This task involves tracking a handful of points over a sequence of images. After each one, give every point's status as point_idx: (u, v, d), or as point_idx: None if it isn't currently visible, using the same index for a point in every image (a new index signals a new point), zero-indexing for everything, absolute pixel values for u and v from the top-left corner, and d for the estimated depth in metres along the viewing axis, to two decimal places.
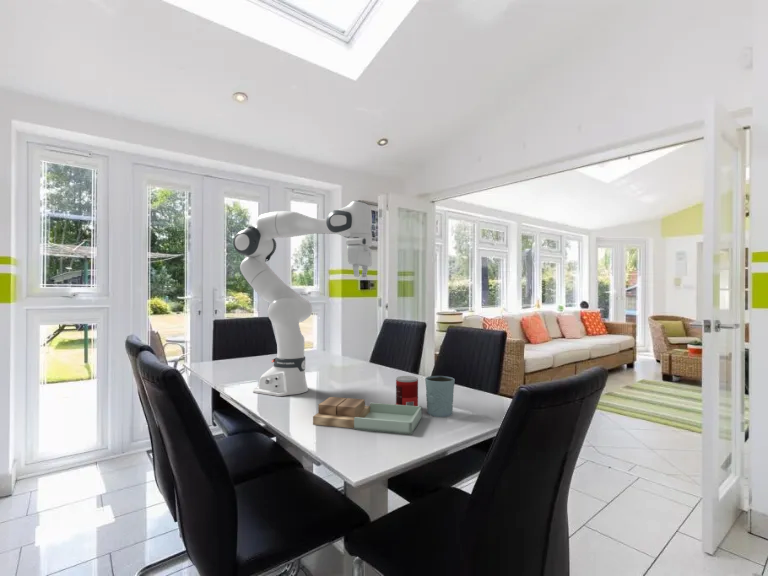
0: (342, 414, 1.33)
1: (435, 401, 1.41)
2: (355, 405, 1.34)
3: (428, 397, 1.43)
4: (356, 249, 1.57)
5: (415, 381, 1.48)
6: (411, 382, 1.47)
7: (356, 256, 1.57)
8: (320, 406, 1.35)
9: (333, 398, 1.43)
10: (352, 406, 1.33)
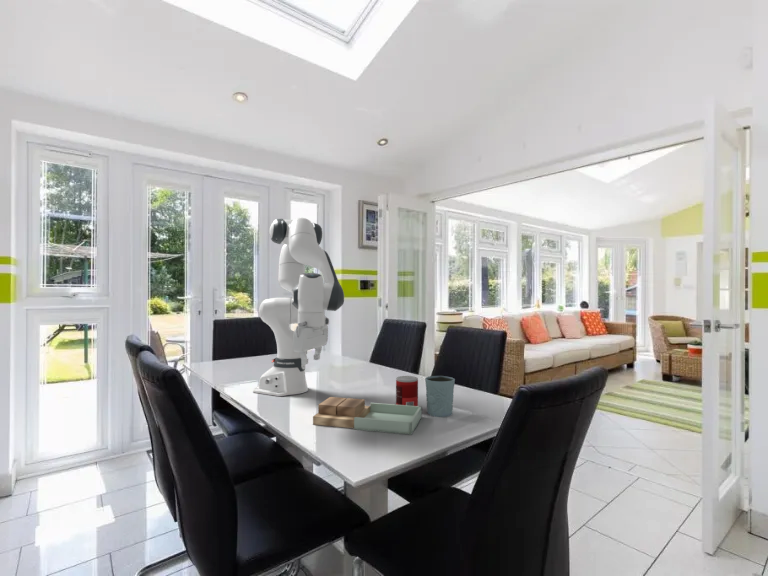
0: (342, 414, 1.33)
1: (435, 401, 1.41)
2: (355, 405, 1.34)
3: (428, 397, 1.43)
4: None
5: (415, 381, 1.48)
6: (411, 382, 1.47)
7: None
8: (320, 406, 1.35)
9: (333, 398, 1.43)
10: (352, 406, 1.33)
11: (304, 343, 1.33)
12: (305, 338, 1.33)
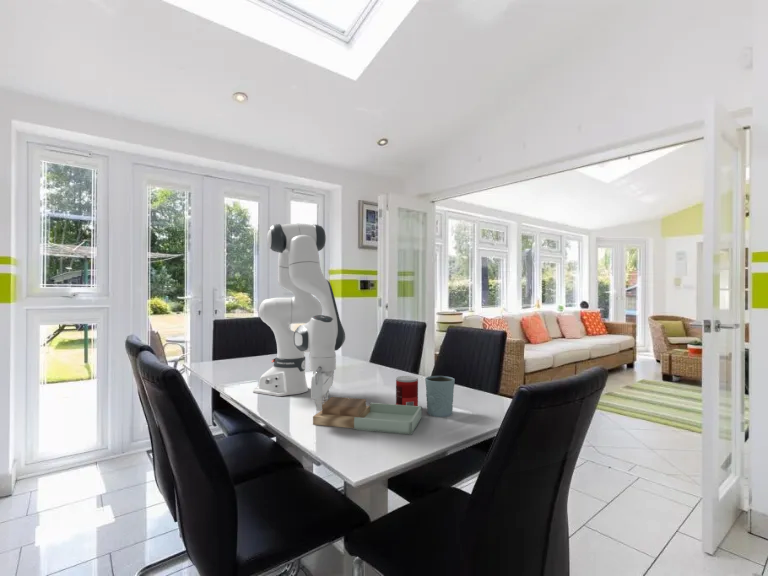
0: (345, 414, 1.33)
1: (435, 401, 1.41)
2: (357, 405, 1.35)
3: (428, 397, 1.43)
4: None
5: (415, 381, 1.48)
6: (411, 382, 1.47)
7: None
8: (324, 406, 1.35)
9: (335, 398, 1.43)
10: (354, 406, 1.34)
11: (322, 389, 1.32)
12: (323, 384, 1.32)
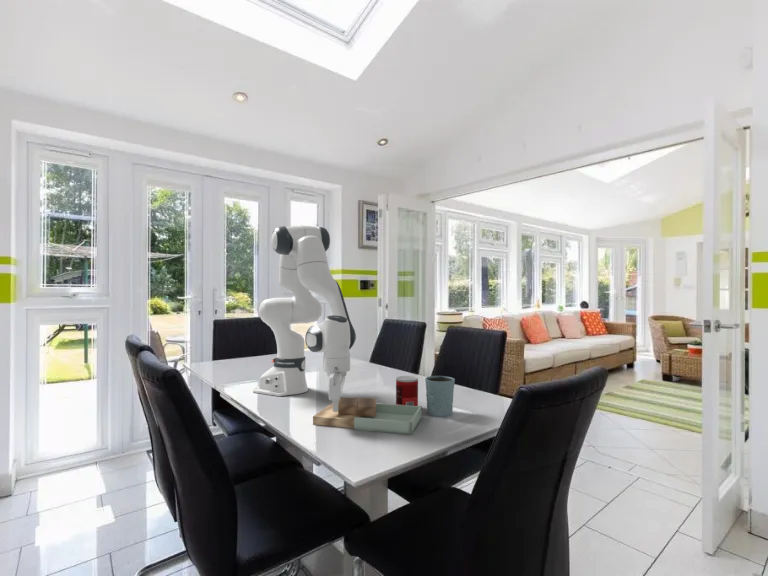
0: (362, 414, 1.33)
1: (435, 401, 1.41)
2: (374, 405, 1.36)
3: (428, 397, 1.43)
4: None
5: (415, 381, 1.48)
6: (411, 382, 1.47)
7: None
8: (340, 407, 1.34)
9: (345, 398, 1.42)
10: (372, 406, 1.34)
11: (340, 390, 1.30)
12: (340, 385, 1.31)
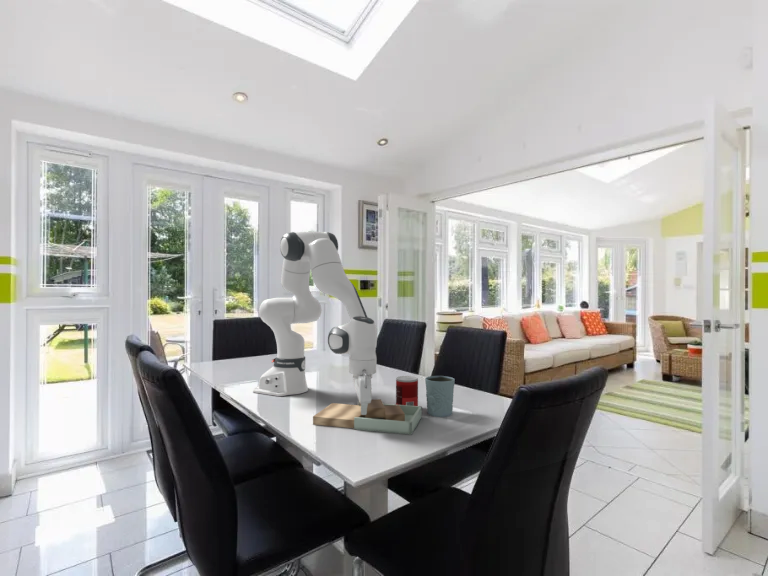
0: None
1: (435, 401, 1.41)
2: (401, 411, 1.34)
3: (428, 397, 1.43)
4: None
5: (415, 381, 1.48)
6: (411, 382, 1.47)
7: None
8: (368, 410, 1.32)
9: None
10: (399, 413, 1.33)
11: None
12: None
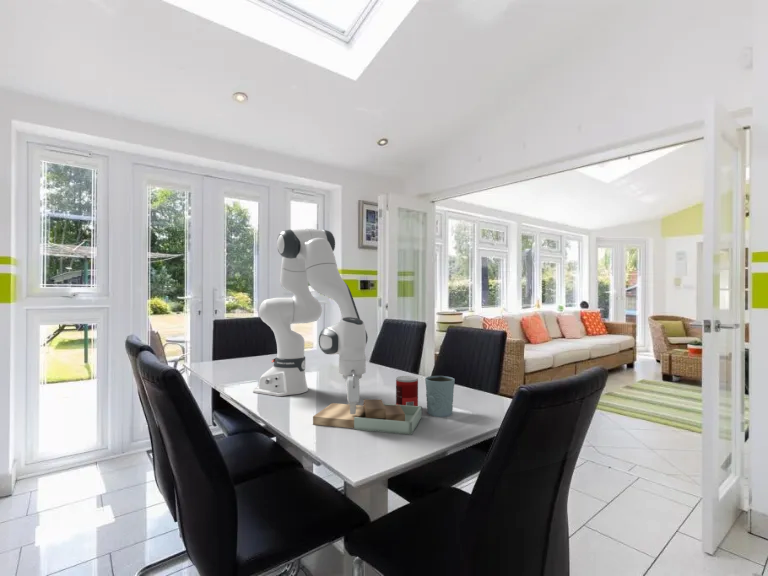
0: None
1: (435, 401, 1.41)
2: (401, 412, 1.34)
3: (428, 397, 1.43)
4: None
5: (415, 381, 1.48)
6: (411, 382, 1.47)
7: None
8: (368, 410, 1.32)
9: (370, 400, 1.40)
10: (400, 413, 1.33)
11: None
12: None
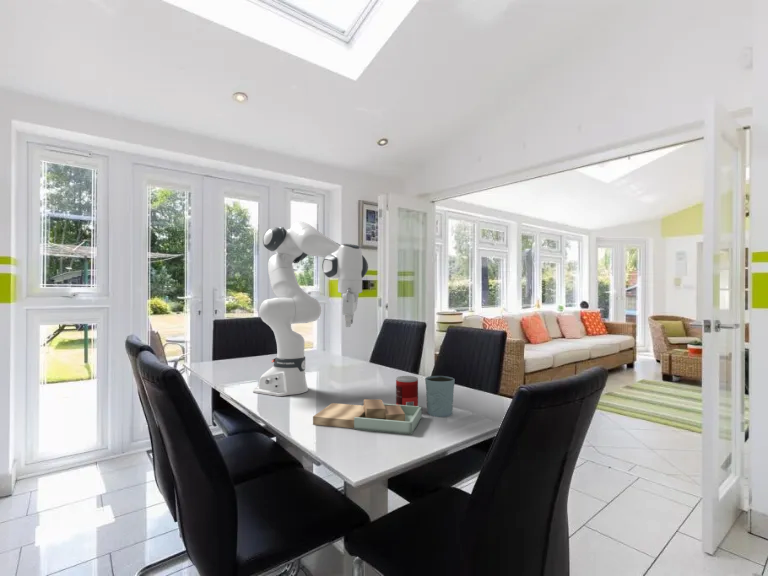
0: None
1: (435, 401, 1.41)
2: (401, 412, 1.34)
3: (428, 397, 1.43)
4: None
5: (415, 381, 1.48)
6: (411, 382, 1.47)
7: None
8: (368, 410, 1.32)
9: (370, 400, 1.40)
10: (400, 413, 1.33)
11: (352, 307, 1.47)
12: None
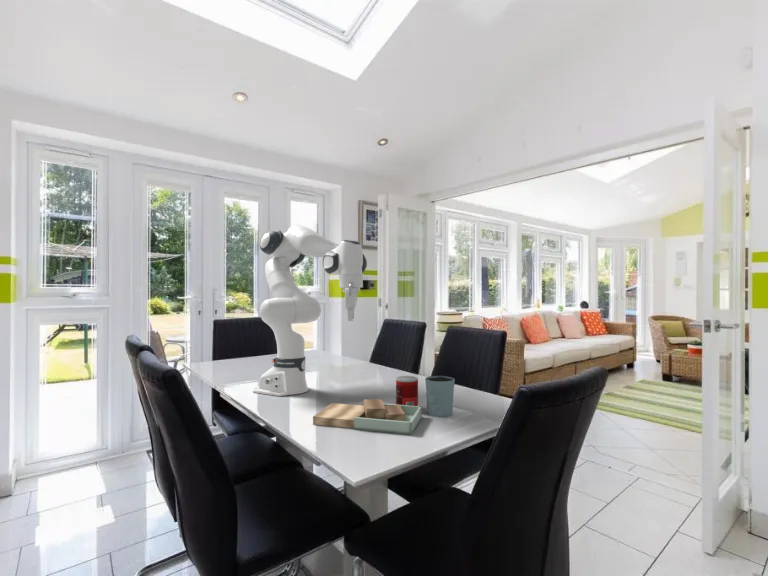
0: None
1: (435, 401, 1.41)
2: (401, 412, 1.34)
3: (428, 397, 1.43)
4: None
5: (415, 381, 1.48)
6: (411, 382, 1.47)
7: None
8: (368, 410, 1.32)
9: (370, 400, 1.40)
10: (400, 413, 1.33)
11: None
12: None
